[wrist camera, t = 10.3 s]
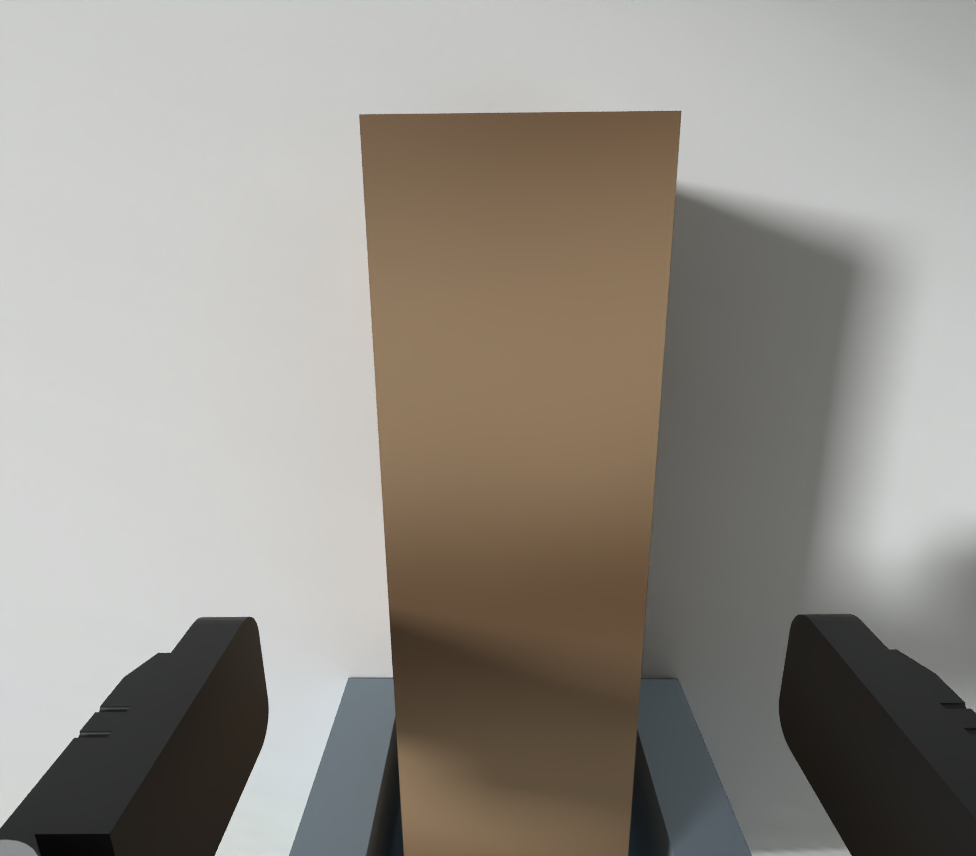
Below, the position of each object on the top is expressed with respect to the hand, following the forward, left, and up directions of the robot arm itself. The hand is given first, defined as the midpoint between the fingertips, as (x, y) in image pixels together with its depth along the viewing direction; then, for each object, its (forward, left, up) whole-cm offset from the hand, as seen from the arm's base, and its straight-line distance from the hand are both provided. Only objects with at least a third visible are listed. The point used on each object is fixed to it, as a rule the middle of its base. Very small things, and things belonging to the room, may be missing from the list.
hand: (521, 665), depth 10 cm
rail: (0, 0, -7) cm, 7 cm away
